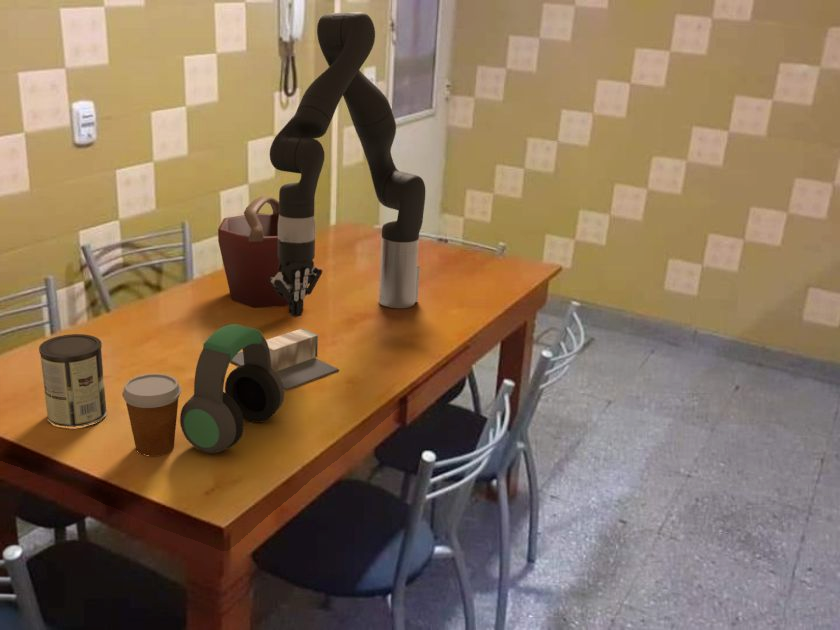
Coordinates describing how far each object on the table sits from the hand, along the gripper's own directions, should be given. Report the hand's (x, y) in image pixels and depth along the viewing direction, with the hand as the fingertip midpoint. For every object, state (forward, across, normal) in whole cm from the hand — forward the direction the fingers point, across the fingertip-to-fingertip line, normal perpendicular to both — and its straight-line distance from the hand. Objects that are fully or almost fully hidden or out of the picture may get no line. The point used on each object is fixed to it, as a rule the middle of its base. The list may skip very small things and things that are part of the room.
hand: (295, 315), depth 187 cm
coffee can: (+11, +46, -7) cm, 47 cm away
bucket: (+10, -19, -35) cm, 41 cm away
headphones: (+10, +29, +17) cm, 35 cm away
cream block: (+7, -4, 0) cm, 8 cm away
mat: (+10, +4, 0) cm, 11 cm away
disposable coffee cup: (+10, +42, +12) cm, 45 cm away
